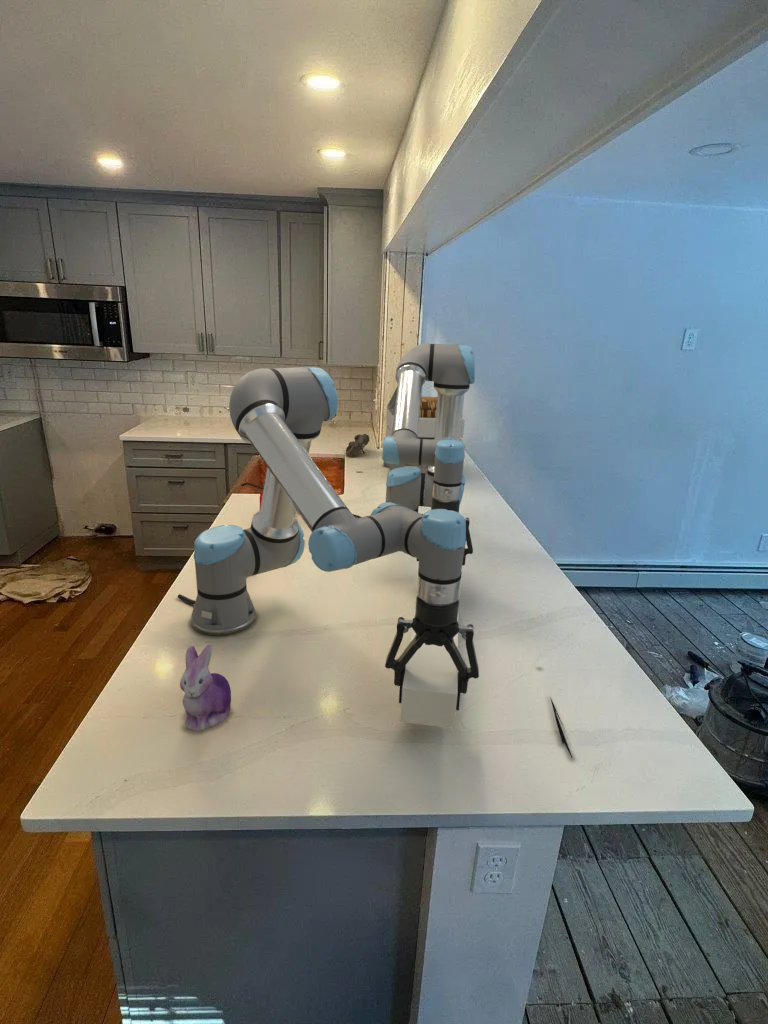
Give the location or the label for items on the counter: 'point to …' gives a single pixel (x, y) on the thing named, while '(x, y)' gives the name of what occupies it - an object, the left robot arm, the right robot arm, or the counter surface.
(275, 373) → the left robot arm
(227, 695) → the figurine
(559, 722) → the feather
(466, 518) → the right robot arm
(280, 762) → the counter surface
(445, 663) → the thick board
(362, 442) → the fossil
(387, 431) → the white slatted box
